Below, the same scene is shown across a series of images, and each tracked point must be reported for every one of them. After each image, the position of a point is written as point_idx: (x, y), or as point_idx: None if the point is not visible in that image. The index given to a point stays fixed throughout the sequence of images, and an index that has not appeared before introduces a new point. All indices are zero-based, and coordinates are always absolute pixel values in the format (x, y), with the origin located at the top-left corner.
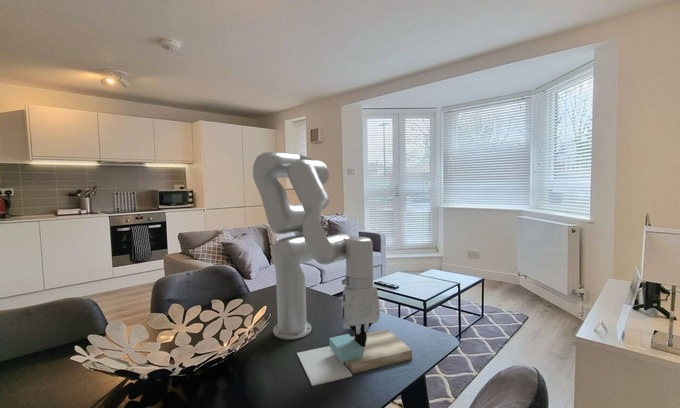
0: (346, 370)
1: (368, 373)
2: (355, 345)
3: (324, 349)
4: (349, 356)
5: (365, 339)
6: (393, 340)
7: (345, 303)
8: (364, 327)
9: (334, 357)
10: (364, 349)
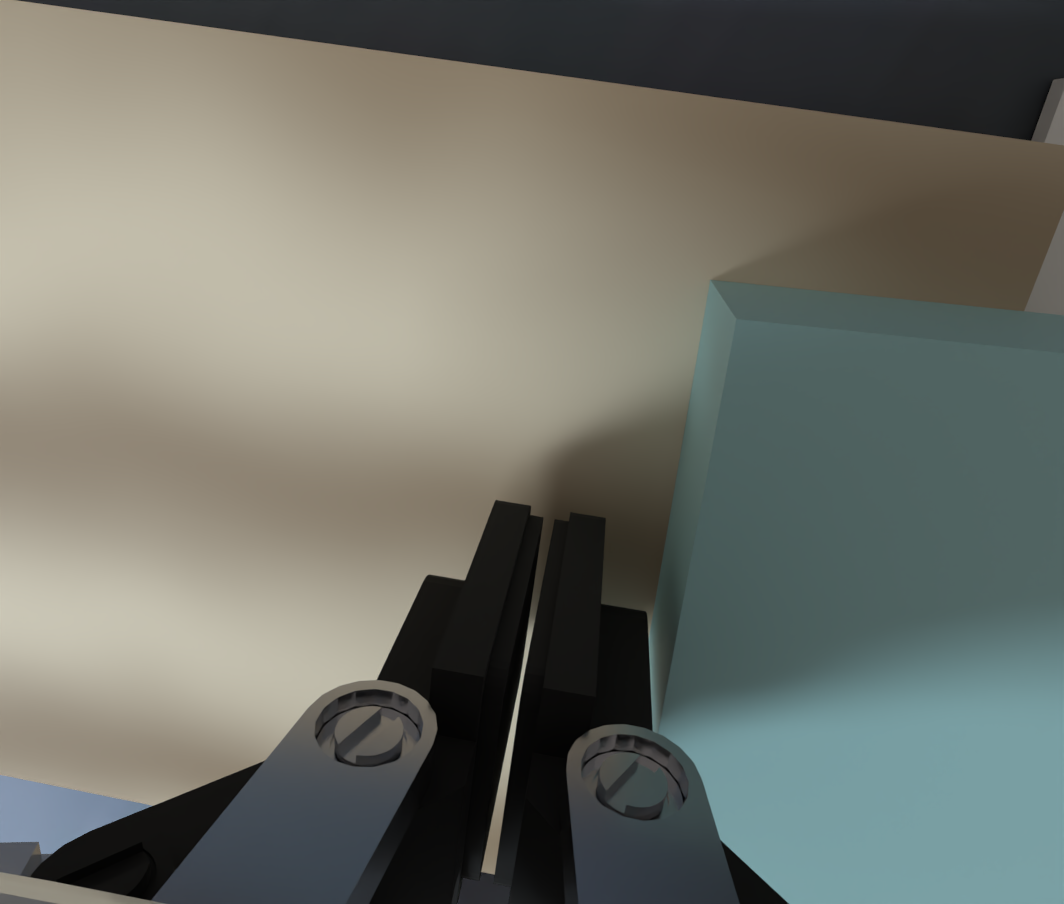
0: (1050, 250)
1: (755, 5)
2: (808, 507)
3: None
4: (1061, 331)
5: (470, 569)
6: None
7: None
8: (388, 836)
9: None
10: (525, 481)
